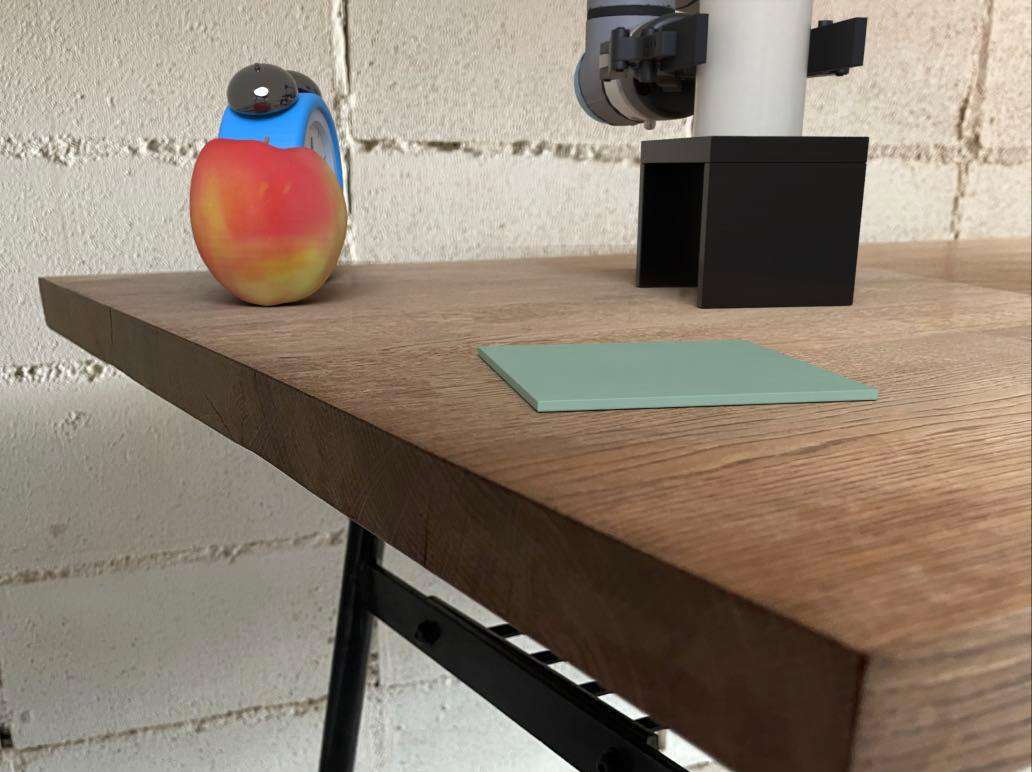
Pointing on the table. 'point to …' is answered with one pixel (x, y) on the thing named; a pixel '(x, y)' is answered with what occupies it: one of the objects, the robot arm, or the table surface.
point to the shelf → (752, 218)
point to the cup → (753, 68)
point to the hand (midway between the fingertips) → (781, 39)
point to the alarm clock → (280, 112)
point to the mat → (664, 375)
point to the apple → (266, 219)
